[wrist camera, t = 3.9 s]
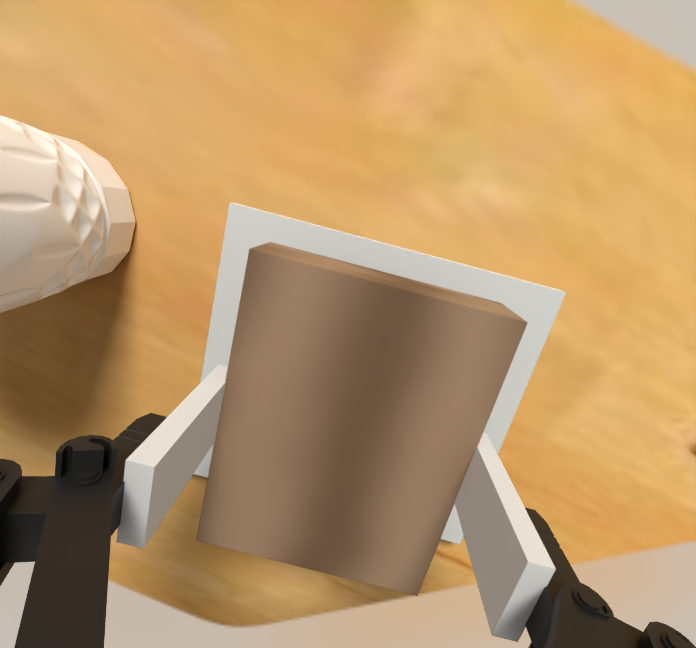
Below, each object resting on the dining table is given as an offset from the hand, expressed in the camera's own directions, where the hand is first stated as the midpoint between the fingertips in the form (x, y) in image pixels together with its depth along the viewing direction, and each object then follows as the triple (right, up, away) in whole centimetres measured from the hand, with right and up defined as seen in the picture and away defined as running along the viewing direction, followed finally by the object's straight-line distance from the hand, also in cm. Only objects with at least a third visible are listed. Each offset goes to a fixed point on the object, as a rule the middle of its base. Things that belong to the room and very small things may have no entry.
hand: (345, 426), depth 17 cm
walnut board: (0, +1, +2) cm, 2 cm away
